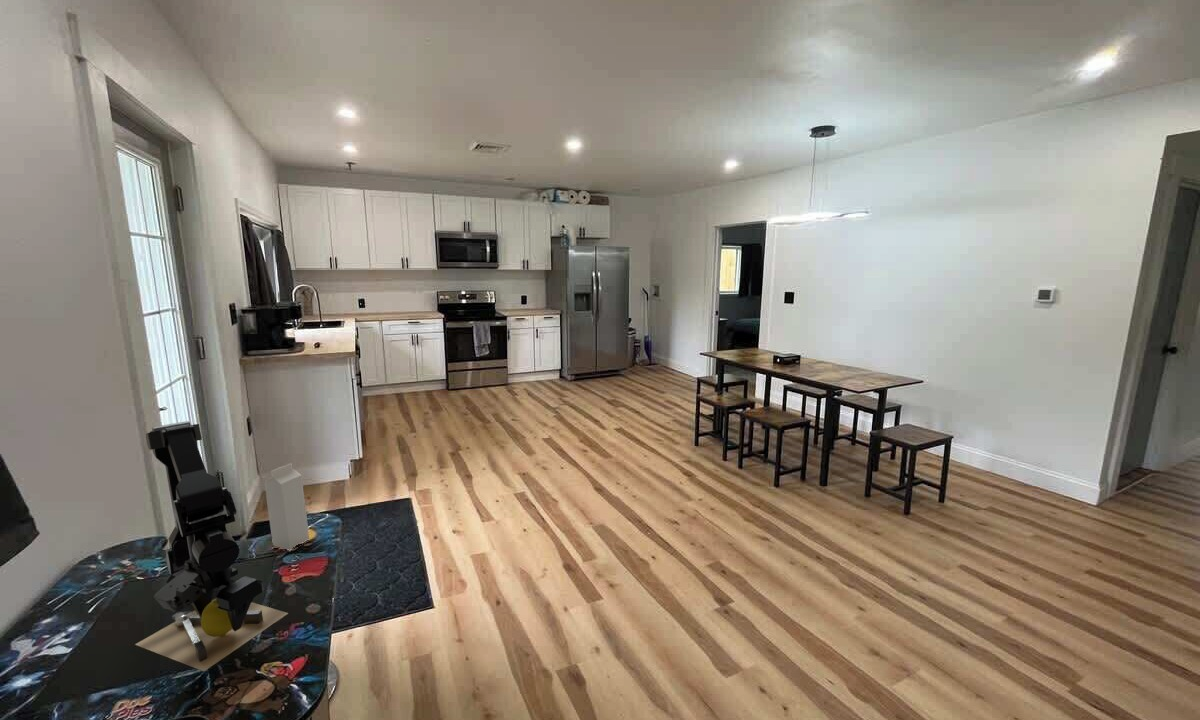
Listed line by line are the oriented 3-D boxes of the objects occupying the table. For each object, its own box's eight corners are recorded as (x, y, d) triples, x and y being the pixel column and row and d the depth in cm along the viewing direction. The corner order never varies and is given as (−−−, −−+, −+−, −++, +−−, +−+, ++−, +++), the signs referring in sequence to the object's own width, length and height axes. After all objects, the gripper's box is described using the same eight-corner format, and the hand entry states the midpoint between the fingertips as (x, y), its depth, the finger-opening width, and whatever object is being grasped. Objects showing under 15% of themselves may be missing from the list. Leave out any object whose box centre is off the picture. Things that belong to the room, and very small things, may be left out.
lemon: (221, 648, 91) (213, 610, 89) (197, 644, 92) (189, 607, 91) (247, 627, 96) (241, 591, 95) (224, 624, 97) (218, 588, 96)
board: (136, 650, 92) (134, 644, 92) (224, 598, 107) (223, 593, 107) (204, 677, 86) (203, 671, 85) (289, 618, 101) (288, 613, 100)
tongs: (142, 640, 93) (140, 630, 93) (208, 602, 104) (206, 593, 104) (201, 662, 87) (199, 651, 87) (264, 620, 98) (262, 610, 98)
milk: (273, 548, 128) (261, 469, 124) (293, 537, 133) (283, 461, 130) (290, 552, 126) (279, 472, 122) (310, 540, 132) (300, 463, 128)
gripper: (126, 565, 87) (140, 642, 89) (193, 585, 80) (207, 667, 83) (195, 534, 97) (206, 604, 100) (260, 550, 91) (270, 624, 93)
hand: (221, 624), depth 94 cm, fingers open, 9 cm apart
